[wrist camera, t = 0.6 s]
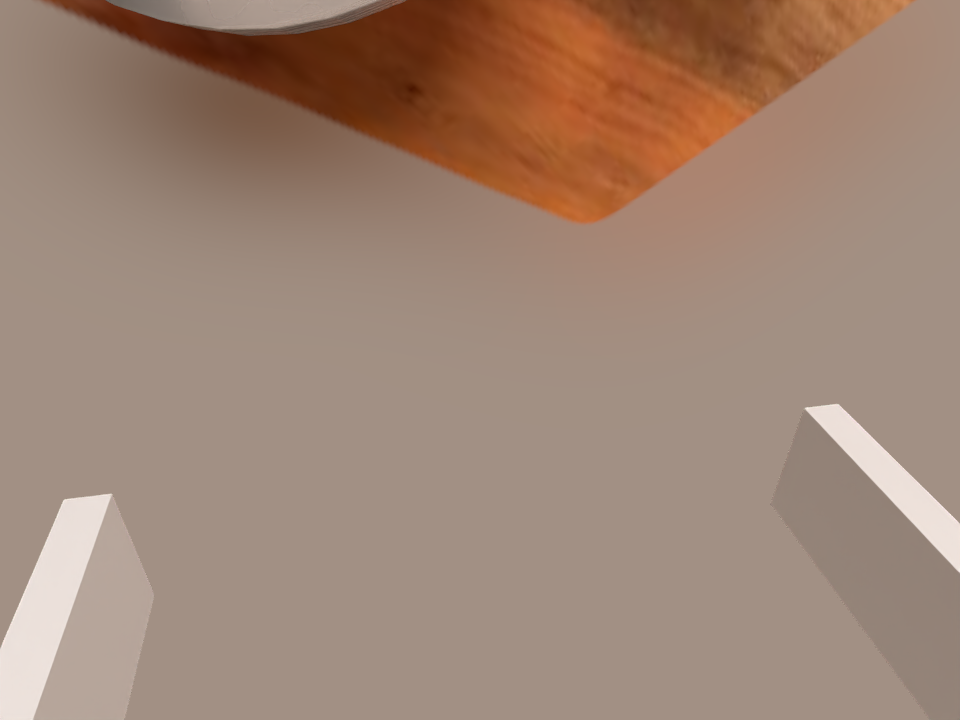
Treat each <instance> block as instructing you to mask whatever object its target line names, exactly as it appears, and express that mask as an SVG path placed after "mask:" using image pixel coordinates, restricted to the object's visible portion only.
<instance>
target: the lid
mask: <svg viewBox="0 0 960 720" xmlns="http://www.w3.org/2000/svg"><path fill="white" fill-rule="evenodd" d="M106 1H108V2H110V3H112V4H114V5H116V6H119V7H122V8H125V9H128V10H131V11H134V12H137V13H140V14H144V15H147V16H150V17H153V18H156V19H159V20H162V21H167V22H171V23H176V24H181V25H185V26H190V27H194V28H199V29H204V30H212V31H219V32H226V33H233V34H240V35H247V36H252V35H279V34H299V33H304V32H309V31H313V30H318V29H323V28H328V27H332V26H337V25H342V24H347V23H351V22H353V21H356V20H358V19H361V18H363V17H366V16H369V15H371V14H374V13H376V12H379V11H381V10H384V9H387V8H389V7H392V6H394V5H397V4H399V3H402V2H404V1H406V0H106Z"/></svg>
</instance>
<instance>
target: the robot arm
mask: <svg viewBox="0 0 960 720" xmlns="http://www.w3.org/2000/svg"><path fill="white" fill-rule="evenodd" d="M771 506H772V507H773V508H774V510H775V511H776V512H777V514H778V515H779V517H780V518H781V519H782V520H783V522H784V523H785V525H786V526H787V527H788V528H789V530H790V531H791V533H792V534H793V536H794V537H795V538H796V539H797V541H798V542H799V544H800V545H801V546H802V548H803V549H804V550H805V552H806V553H807V554H808V556H809V557H810V559H811V560H812V561H813V563H814V564H815V565H816V567H817V568H818V569H819V571H820V572H821V573H822V575H823V576H824V577H825V579H826V580H827V582H828V583H829V584H830V586H831V587H832V588H833V590H834V591H835V592H836V594H837V595H838V596H839V598H840V599H841V601H842V602H843V603H844V605H845V606H846V607H847V609H848V610H849V611H850V613H851V614H852V615H853V617H854V618H855V619H856V621H857V622H858V624H859V625H860V626H861V628H862V629H863V630H864V632H865V633H866V634H867V635H868V637H869V638H870V640H871V641H872V642H873V644H874V645H875V647H876V648H877V649H878V651H879V652H880V653H881V655H882V656H883V657H884V659H885V660H886V662H887V663H888V664H889V666H890V667H891V668H892V669H893V671H894V672H895V674H896V675H897V676H898V678H899V679H900V680H901V682H902V683H903V684H904V686H905V687H906V689H907V690H908V691H909V693H910V694H911V695H912V697H913V698H914V699H915V701H916V702H917V703H918V705H919V706H920V708H921V709H922V710H923V711H924V713H925V714H926V716H927V717H928V718H929V720H960V524H959V523H958V521H956V519H955V518H954V517H952V515H950V513H949V512H947V511H946V510H945V509H944V508H943V507H942V506H941V505H940V504H939V503H938V502H937V501H936V500H935V499H934V498H933V497H932V496H931V495H930V494H929V493H928V492H927V491H926V490H925V489H924V488H923V487H922V486H921V485H920V484H919V483H918V482H917V481H916V480H915V479H914V478H913V477H912V476H911V475H910V474H909V473H908V472H907V471H906V470H905V469H904V468H903V467H902V466H901V465H900V464H899V463H897V461H896V460H895V459H894V458H892V456H890V454H888V452H886V451H885V450H884V449H883V448H882V447H881V446H880V445H879V444H878V443H877V442H876V441H875V440H874V439H873V438H872V437H871V436H870V435H869V434H868V433H867V432H866V431H865V430H864V429H863V428H862V427H861V426H860V425H859V424H858V423H857V422H856V421H855V420H854V419H853V418H852V417H851V416H850V415H849V414H848V413H847V412H846V411H845V410H844V409H843V408H842V407H841V406H840V405H839V404H833V405H825V406H816V407H808V408H804V410H803V413H802V416H801V418H800V421H799V424H798V427H797V430H796V433H795V435H794V438H793V441H792V444H791V447H790V450H789V452H788V455H787V458H786V461H785V464H784V467H783V470H782V472H781V475H780V478H779V481H778V484H777V487H776V489H775V492H774V495H773V498H772V501H771ZM153 598H154V593H153V591H152V589H151V586H150V584H149V581H148V579H147V576H146V574H145V572H144V569H143V567H142V564H141V562H140V560H139V557H138V555H137V552H136V550H135V548H134V545H133V543H132V540H131V538H130V535H129V533H128V531H127V528H126V526H125V523H124V521H123V519H122V516H121V514H120V512H119V509H118V507H117V504H116V502H115V499H114V497H113V495H112V494H105V495H98V496H89V497H80V498H72V499H65V500H64V501H63V503H62V505H61V508H60V510H59V512H58V515H57V517H56V519H55V522H54V524H53V526H52V529H51V531H50V533H49V536H48V538H47V540H46V543H45V545H44V547H43V550H42V552H41V554H40V557H39V559H38V562H37V564H36V566H35V568H34V571H33V573H32V575H31V578H30V580H29V582H28V585H27V587H26V590H25V592H24V594H23V597H22V599H21V601H20V604H19V606H18V608H17V611H16V613H15V615H14V618H13V620H12V622H11V625H10V627H9V630H8V632H7V634H6V636H5V639H4V641H3V643H2V646H1V648H0V720H124V719H125V715H126V711H127V707H128V703H129V699H130V694H131V690H132V686H133V682H134V678H135V673H136V669H137V665H138V661H139V656H140V652H141V648H142V644H143V640H144V636H145V632H146V627H147V623H148V619H149V614H150V611H151V606H152V602H153Z"/></svg>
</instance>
